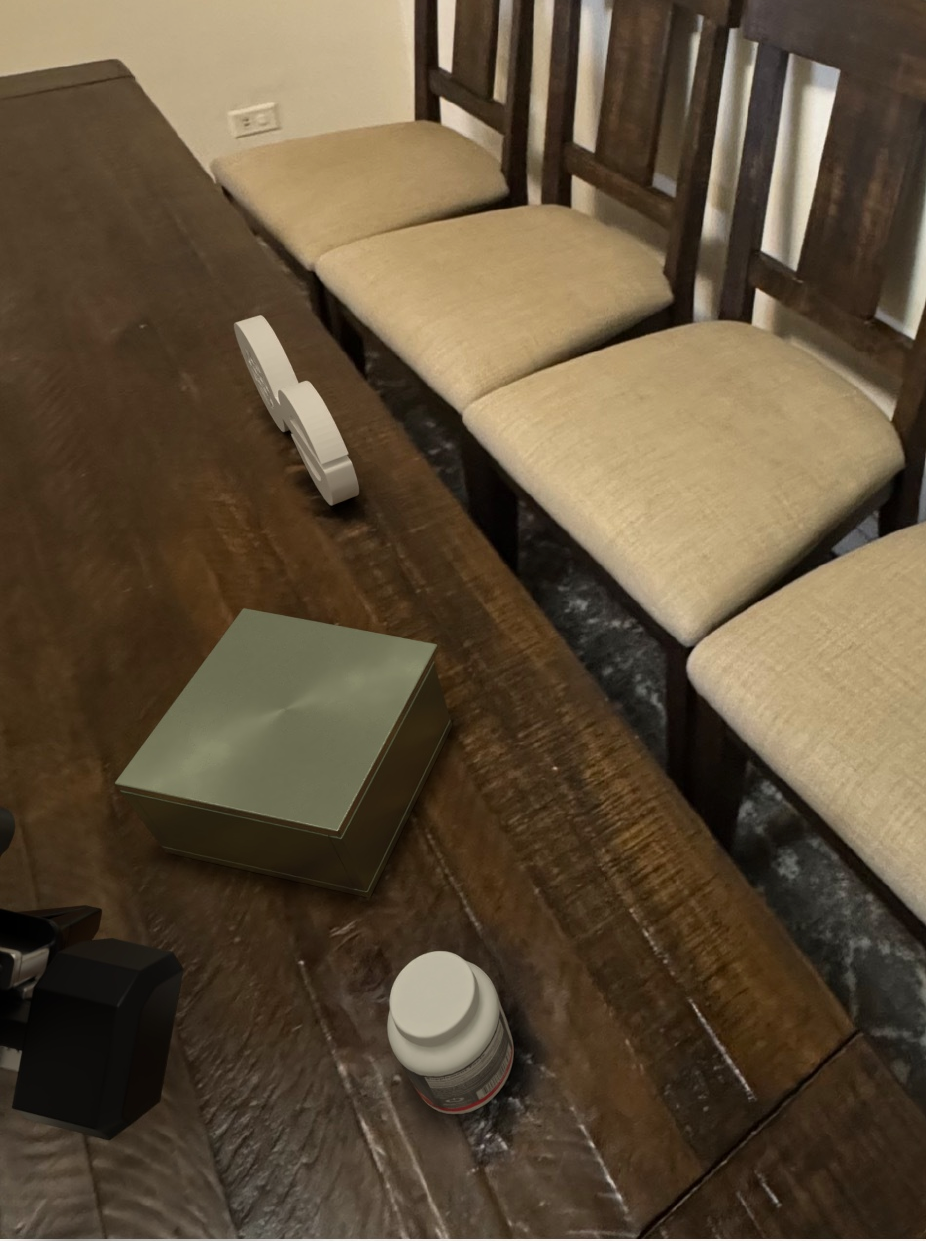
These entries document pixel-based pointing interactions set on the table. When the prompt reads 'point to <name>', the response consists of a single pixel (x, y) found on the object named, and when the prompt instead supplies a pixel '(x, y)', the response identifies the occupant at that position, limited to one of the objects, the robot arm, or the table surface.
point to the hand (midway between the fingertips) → (93, 917)
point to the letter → (297, 410)
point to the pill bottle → (449, 1032)
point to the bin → (313, 854)
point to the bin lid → (283, 722)
